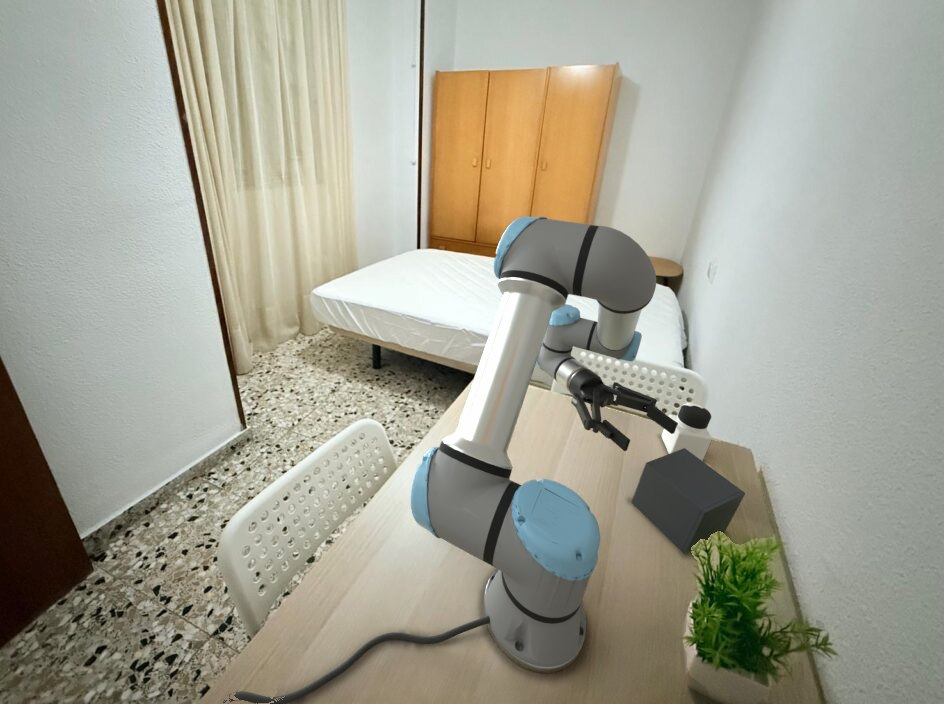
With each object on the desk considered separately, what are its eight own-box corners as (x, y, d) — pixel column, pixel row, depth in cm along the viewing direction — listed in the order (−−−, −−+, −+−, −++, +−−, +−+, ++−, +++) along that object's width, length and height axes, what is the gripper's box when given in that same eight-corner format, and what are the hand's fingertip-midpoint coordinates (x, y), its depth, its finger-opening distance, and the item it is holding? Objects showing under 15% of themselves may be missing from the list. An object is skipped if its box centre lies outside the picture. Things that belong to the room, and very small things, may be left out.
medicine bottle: (702, 462, 93) (721, 421, 88) (669, 456, 94) (685, 416, 89) (691, 441, 100) (707, 402, 94) (660, 436, 101) (675, 397, 96)
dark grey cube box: (723, 534, 77) (745, 493, 72) (684, 554, 73) (705, 512, 68) (668, 486, 86) (684, 447, 82) (631, 502, 82) (645, 462, 78)
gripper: (613, 382, 106) (687, 435, 88) (535, 404, 96) (601, 467, 79) (620, 358, 102) (698, 408, 85) (540, 378, 93) (610, 438, 76)
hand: (652, 437), depth 82 cm, fingers open, 13 cm apart
